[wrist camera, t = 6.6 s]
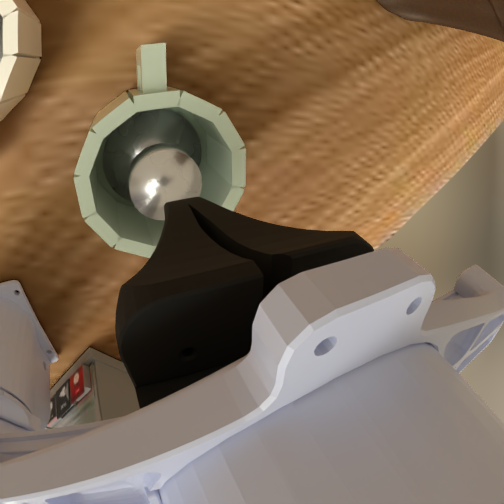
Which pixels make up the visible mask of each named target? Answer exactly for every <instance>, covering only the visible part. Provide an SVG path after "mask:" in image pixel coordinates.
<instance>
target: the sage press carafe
mask: <svg viewBox="0 0 504 504" xmlns="http://www.w3.org/2000/svg"><path fill="white" fill-rule="evenodd" d="M136 69H137V89H130V90H128V92H127V93H126V91H125V92H123V93H122V94H121V95H119V96H118V97H117V98H116V99H114V100H113V101H112V102H110V103H109V104H108V105H107V106H105V107H104V108H103V109H102V110H100V111H99V112H98V113H97V115H96V116H95V117H94V120H93V122H92V125H91V127H90V129H89V132H88V135H87V137H86V140H85V142H84V145H83V148H82V150H81V153H80V156H79V159H78V162H77V165H76V168H75V172H74V174H75V175H74V183H75V188H76V192H77V197H78V201H79V206H80V210H81V214H82V218H84V217H85V218H84V221H85V222H86V223H87V224H88V225H89V226H90V227H91V228H92V229H93V230H94V231H95V232H96V233H97V234H98V235H99V236H100V237H101V238H102V239H103V240H104V241H105V242H106V243H107V244H108V245H109V246H110V247H113V246H114V249H115V250H119V251H123V252H127V253H131V254H135V255H139V256H143V257H147V258H150V257H151V255H152V254H153V252H154V250H155V248H156V246H157V244H158V242H159V239H160V237H161V233H162V230H163V227H164V222H165V220H155V219H151V218H149V217H147V216H145V215H143V214H142V213H140V212H139V211H138V210H137V208H136V207H135V206H134V204H133V202H130V201H128V200H126V199H124V198H122V197H121V196H120V195H118V194H117V193H116V192H115V191H114V190H113V189H112V187H111V186H110V185H109V183H108V181H107V179H106V176H105V174H104V169H103V151H104V146H105V143H106V140H107V138H108V136H109V134H110V133H111V132H112V131H113V130H115V129H116V128H117V127H118V126H120V125H121V124H122V123H123V122H125V121H126V120H127V119H128V118H130V117H131V116H132V115H134V114H135V113H136V112H140V111H147V110H154V109H161V108H165V109H169V110H172V111H174V112H176V113H178V114H180V115H181V116H183V117H184V118H186V119H187V120H188V121H189V122H190V123H191V124H192V126H193V127H194V128H195V130H196V132H197V134H198V136H199V139H200V143H201V149H202V157H201V163H200V167H199V169H200V172H201V176H202V189H201V193H200V196H199V197H201V198H204V199H206V200H209V201H211V202H213V203H215V204H217V205H220V206H222V207H224V208H226V209H229V210H231V211H234V209H235V207H236V205H237V203H238V201H239V200H240V198H241V196H242V194H243V192H244V189H243V188H242V187H245V186H246V148H244V147H243V146H245V144H244V142H243V141H242V139H241V137H240V136H239V134H238V132H237V131H236V129H235V127H234V126H233V124H232V122H231V121H230V119H229V117H228V116H227V114H226V112H224V111H222V109H221V108H219V107H217V106H215V105H213V104H211V103H209V102H207V101H204V100H202V99H200V98H198V97H196V96H194V95H192V94H190V93H187V92H185V91H182V90H179V89H176V88H172V87H169V86H167V76H166V43H156V44H147V45H141V46H140V47H138V48H137V49H136Z"/></svg>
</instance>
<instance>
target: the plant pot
mask: <svg viewBox="0 0 504 504" xmlns="http://www.w3.org/2000/svg"><path fill="white" fill-rule="evenodd" d="M377 1H378V2H379V3H380V4H381V5H382V6H383V7H384V8H385V9H387V10H388V11H390V12H392V13H395V14H397V15H399V16H401V17H402V18H404V19H406V20H410V21H418V22H426V23H432V24H437V25H442V26H447V27H452V28H456V29H460V30H465V31H469V32H473V33H476V34H480V35H484V36H487V37H490V38H494V39H497V40H500V41H503V42H504V0H377Z"/></svg>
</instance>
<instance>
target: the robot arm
mask: <svg viewBox="0 0 504 504" xmlns="http://www.w3.org/2000/svg"><path fill="white" fill-rule="evenodd" d="M164 214H165V222H164V227H163V230H162V233H161V237H160V239H159V242H158V244H157V246H156V248H155V250H154V252H153V254H152V255H151V257H150V259H149V260H148V262H147V263H146V264H145V265H144V267H143V268H142V269H141V270H140V271H139V272H138V273H137V274H136V275H135V276H133V277H132V278H131V279H130V280H129V281H127V282H126V283H125V284H123V285H122V287H121V289H120V293H119V298H118V303H117V310H116V325H115V328H116V338H117V344H118V349H119V353H120V357H121V359H122V361H123V363H124V366H125V368H126V370H127V372H128V374H129V376H130V378H131V381H132V383H133V385H134V387H135V391H136V395H137V399H138V403H139V407H140V409H139V410H137V411H135V412H132V413H130V414H128V415H126V416H122V417H117V418H113V419H108V420H102V421H97V422H91V423H86V424H80V425H74V426H67V427H60V428H53V429H45V428H46V426H47V424H48V422H49V419H50V414H51V406H50V363H52V362H56V361H58V354H57V353H56V351H55V349H54V348H53V346H52V344H51V343H50V341H49V339H48V337H47V336H46V334H45V332H44V330H43V328H42V326H41V325H40V323H39V321H38V319H37V317H36V315H35V313H34V311H33V309H32V307H31V305H30V303H29V301H28V299H27V297H26V295H25V293H24V291H23V289H22V286H21V284H20V283H19V282H18V281H17V280H11V281H7V282H3V283H0V504H504V423H503V422H502V421H501V420H500V419H499V417H498V416H497V415H496V414H495V413H494V412H493V411H492V409H491V408H490V407H489V406H488V405H487V404H486V403H485V402H484V401H483V399H482V398H481V397H480V396H479V395H478V394H477V393H476V392H475V391H474V390H473V388H472V387H471V386H470V385H469V384H468V383H467V382H466V381H465V380H464V379H463V378H462V377H461V375H460V374H459V373H460V372H461V371H462V370H463V369H464V368H465V367H466V366H467V365H468V364H469V363H470V362H471V361H472V360H473V359H474V358H475V357H476V356H478V355H479V354H480V353H481V352H482V351H483V350H484V349H485V348H486V347H487V346H488V345H489V344H490V343H491V341H492V340H493V338H494V337H495V335H496V333H497V332H498V331H499V329H500V327H501V326H502V324H503V323H504V286H502V285H501V284H500V283H499V282H497V281H496V280H495V279H494V278H493V277H491V276H490V275H489V274H488V273H486V272H485V271H484V270H482V269H481V268H480V267H479V266H477V265H474V266H472V267H470V268H468V269H466V270H464V271H463V272H462V273H461V274H460V275H459V277H458V279H457V281H456V283H455V286H454V290H452V291H450V292H448V293H446V294H445V295H443V296H441V297H439V298H438V299H436V300H434V301H432V300H433V296H434V292H435V281H434V279H433V277H432V275H431V274H430V273H429V272H428V271H427V270H425V269H424V268H423V267H422V266H421V265H419V264H418V263H416V261H414V260H413V259H412V258H411V257H409V256H408V255H407V254H405V253H404V252H403V251H402V250H400V249H399V248H383V249H380V250H376V251H374V249H373V247H372V246H371V245H370V244H369V243H367V242H366V241H365V240H364V239H363V238H361V237H360V236H359V235H358V234H357V233H355V232H354V231H318V230H306V229H297V228H291V227H285V226H280V225H275V224H271V223H267V222H263V221H259V220H256V219H253V218H249V217H247V216H244V215H241V214H238V213H236V212H233V211H231V210H229V209H226V208H224V207H222V206H220V205H217V204H215V203H213V202H211V201H209V200H206V199H204V198H201V197H192V198H187V199H181V200H176V201H171V202H166V203H165V205H164ZM15 290H18V291H19V292H16V291H15ZM49 350H50V351H49Z"/></svg>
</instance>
